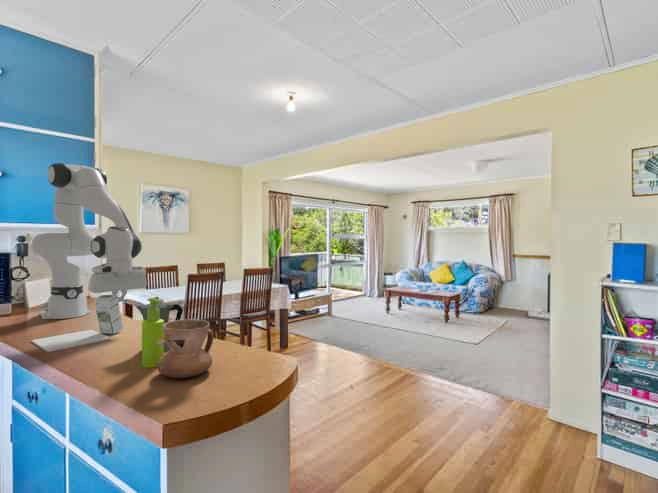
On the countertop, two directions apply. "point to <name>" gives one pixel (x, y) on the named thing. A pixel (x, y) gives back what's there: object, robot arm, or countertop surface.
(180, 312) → the coffeepot
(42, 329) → the countertop surface
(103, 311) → the syrup box
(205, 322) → the ceramic jug
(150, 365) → the soap dispenser
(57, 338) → the grey mat
